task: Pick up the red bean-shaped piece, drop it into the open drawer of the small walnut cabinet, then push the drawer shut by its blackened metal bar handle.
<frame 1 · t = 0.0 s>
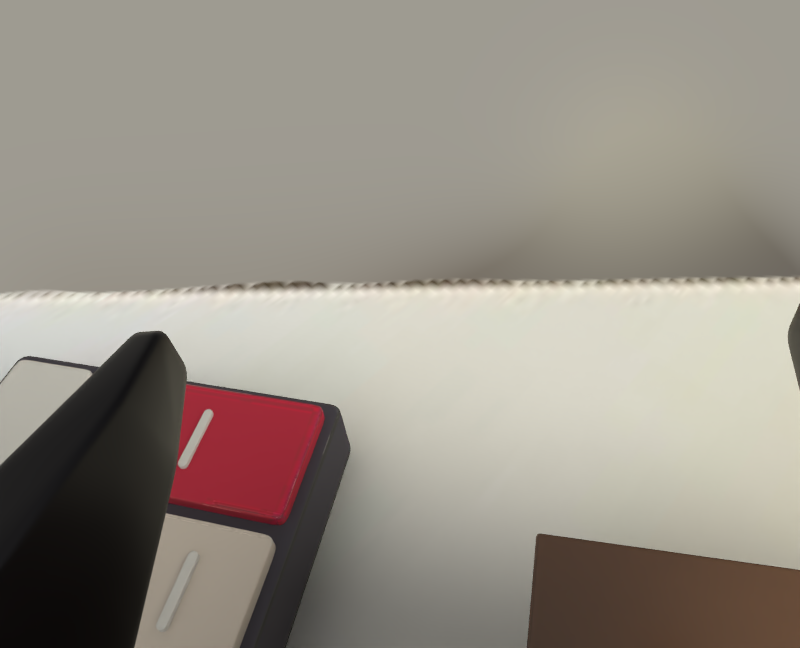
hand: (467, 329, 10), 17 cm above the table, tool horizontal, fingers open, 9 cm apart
switch box: (142, 538, 27), on the table
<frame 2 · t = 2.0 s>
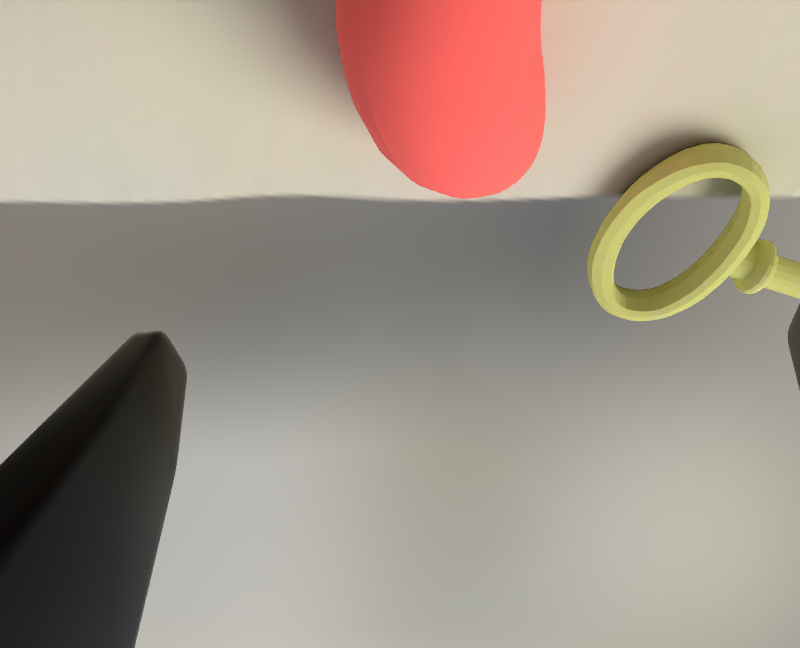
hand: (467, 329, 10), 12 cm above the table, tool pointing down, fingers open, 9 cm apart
key: (744, 242, 24), on the table
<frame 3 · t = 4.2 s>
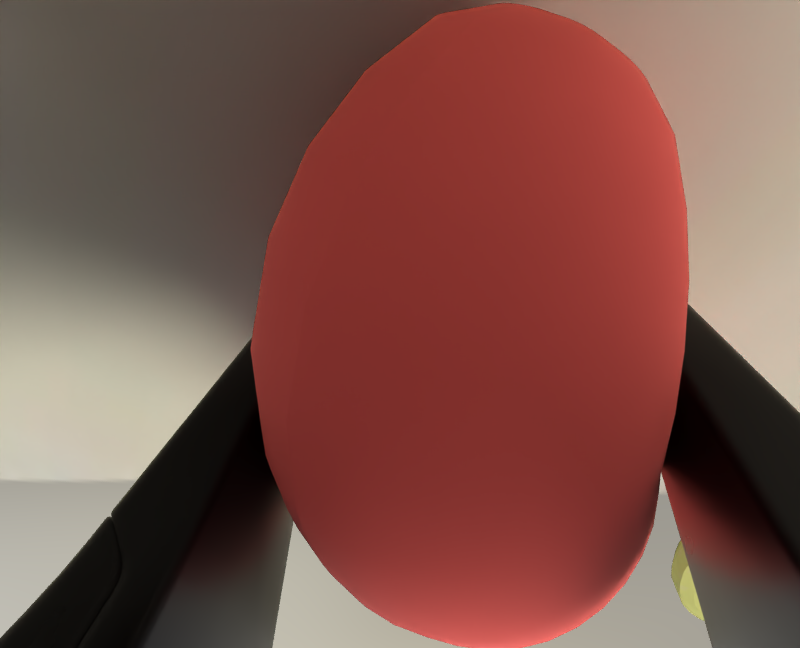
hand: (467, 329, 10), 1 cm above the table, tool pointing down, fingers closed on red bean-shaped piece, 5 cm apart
red bean-shaped piece: (477, 271, 10), on the table, touching gripper
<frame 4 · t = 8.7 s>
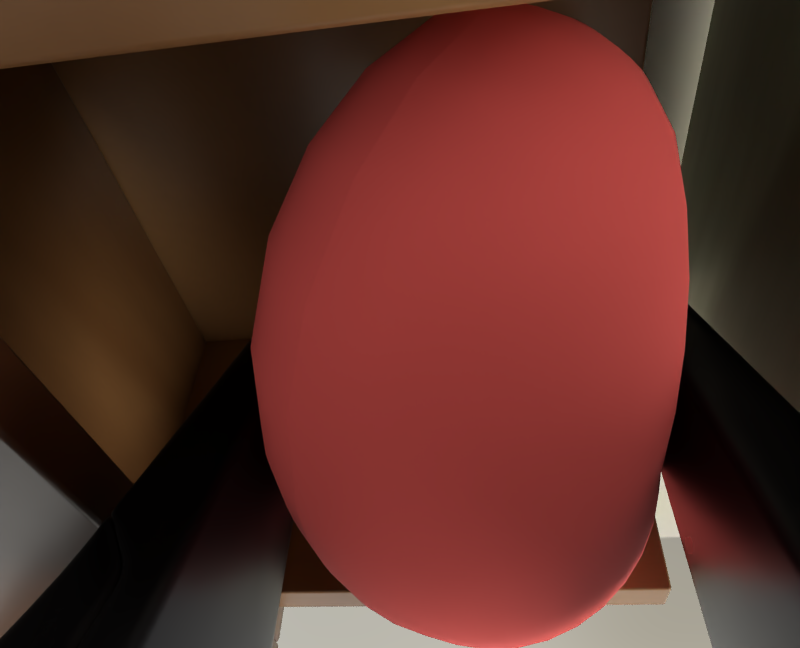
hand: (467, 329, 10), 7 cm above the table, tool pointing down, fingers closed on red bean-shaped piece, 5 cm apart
red bean-shaped piece: (477, 270, 10), point 5 cm above the table, touching gripper
drawer: (548, 234, 11), point 5 cm above the table, slide at 9.0 cm
when the fingers open (8 cm above the table, at t = 15.3 s): red bean-shaped piece drops 4 cm, resting on drawer.
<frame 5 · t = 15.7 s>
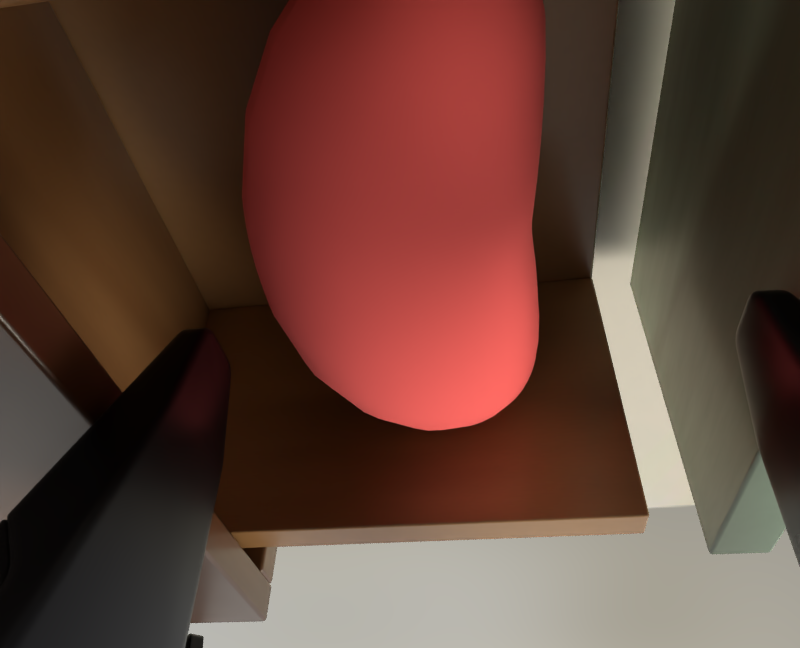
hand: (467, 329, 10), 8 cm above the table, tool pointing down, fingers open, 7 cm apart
red bean-shaped piece: (450, 156, 13), point 3 cm above the table, touching drawer
drawer: (529, 184, 11), point 5 cm above the table, slide at 9.3 cm, touching gripper, red bean-shaped piece
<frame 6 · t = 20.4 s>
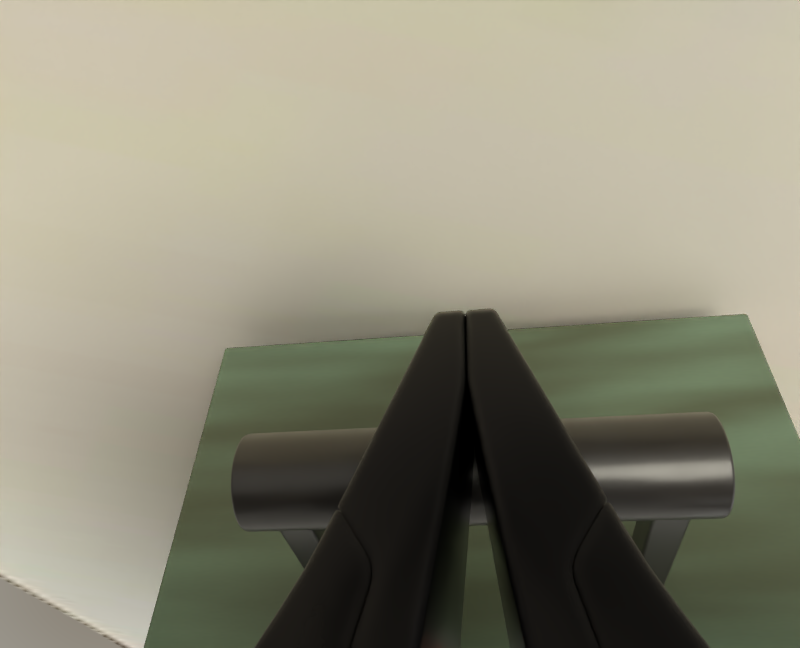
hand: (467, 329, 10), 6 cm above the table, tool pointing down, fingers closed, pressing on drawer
drawer: (488, 547, 18), point 5 cm above the table, slide at 9.3 cm, touching gripper, red bean-shaped piece
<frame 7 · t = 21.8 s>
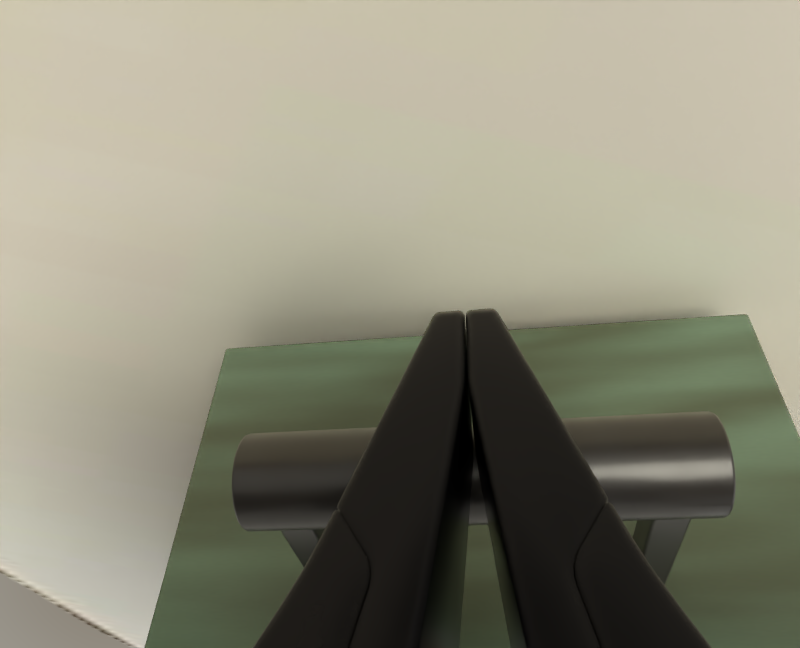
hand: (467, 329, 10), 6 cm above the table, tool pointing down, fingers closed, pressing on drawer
drawer: (488, 548, 18), point 5 cm above the table, slide at 3.8 cm, touching gripper, red bean-shaped piece
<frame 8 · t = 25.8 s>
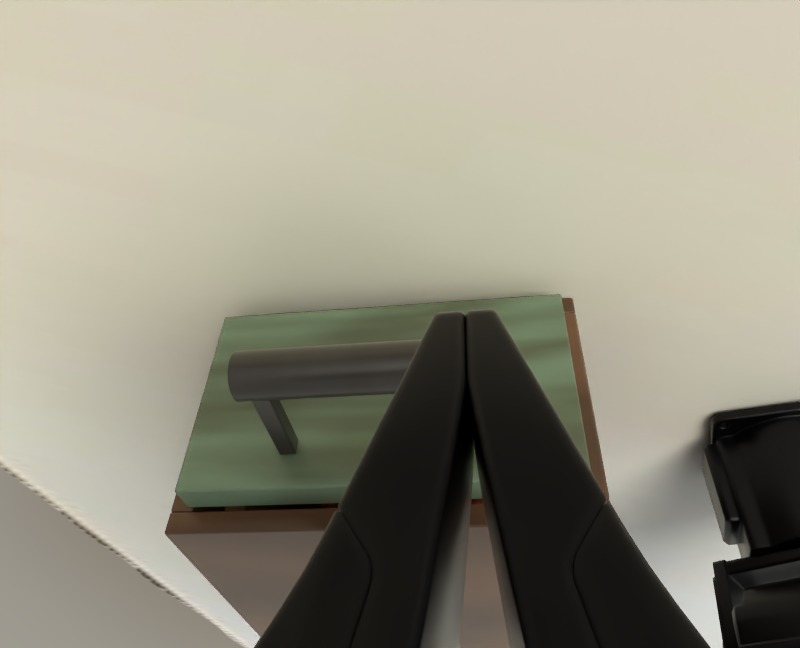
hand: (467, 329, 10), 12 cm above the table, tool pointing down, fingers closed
cabinet: (414, 409, 33), on the table
drawer: (399, 450, 27), point 5 cm above the table, slide at 0.0 cm, touching red bean-shaped piece
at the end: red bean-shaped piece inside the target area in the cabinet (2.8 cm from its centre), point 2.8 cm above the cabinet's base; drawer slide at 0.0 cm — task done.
